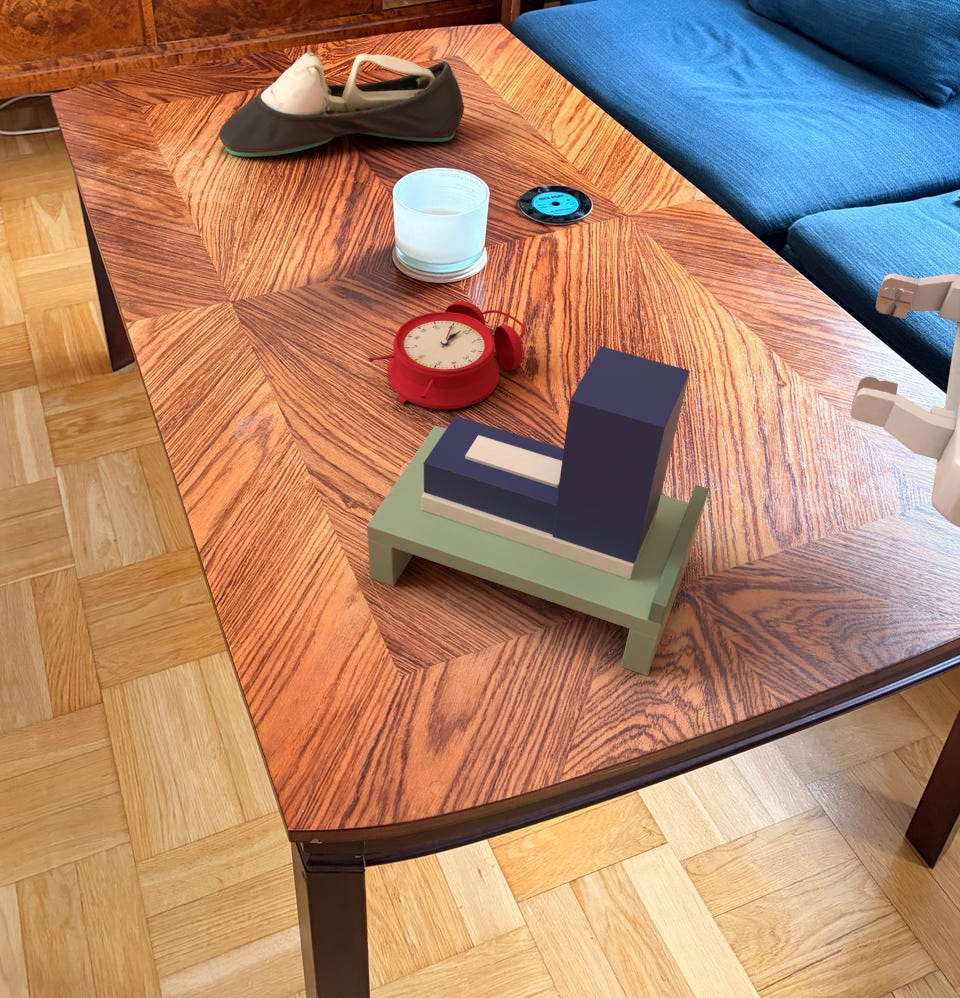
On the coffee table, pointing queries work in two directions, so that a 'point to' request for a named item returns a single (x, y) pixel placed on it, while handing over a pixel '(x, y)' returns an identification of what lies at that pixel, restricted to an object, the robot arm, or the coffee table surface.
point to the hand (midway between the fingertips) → (867, 341)
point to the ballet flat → (345, 108)
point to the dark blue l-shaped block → (569, 468)
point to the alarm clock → (451, 357)
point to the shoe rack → (541, 560)
